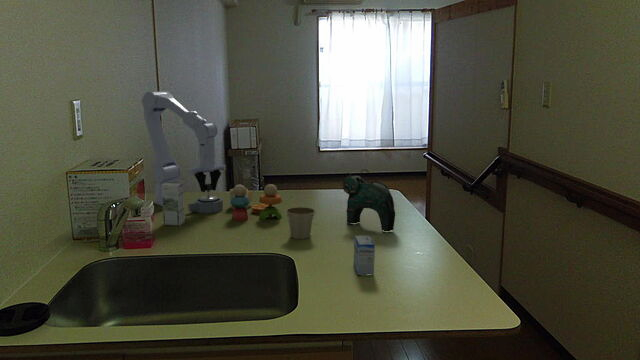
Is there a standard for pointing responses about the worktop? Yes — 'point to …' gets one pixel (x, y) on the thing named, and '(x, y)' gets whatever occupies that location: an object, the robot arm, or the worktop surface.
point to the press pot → (206, 206)
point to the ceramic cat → (369, 200)
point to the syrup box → (173, 203)
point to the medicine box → (364, 255)
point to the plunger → (208, 194)
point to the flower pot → (300, 221)
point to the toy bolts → (263, 209)
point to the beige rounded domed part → (248, 194)
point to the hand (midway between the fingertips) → (208, 190)
